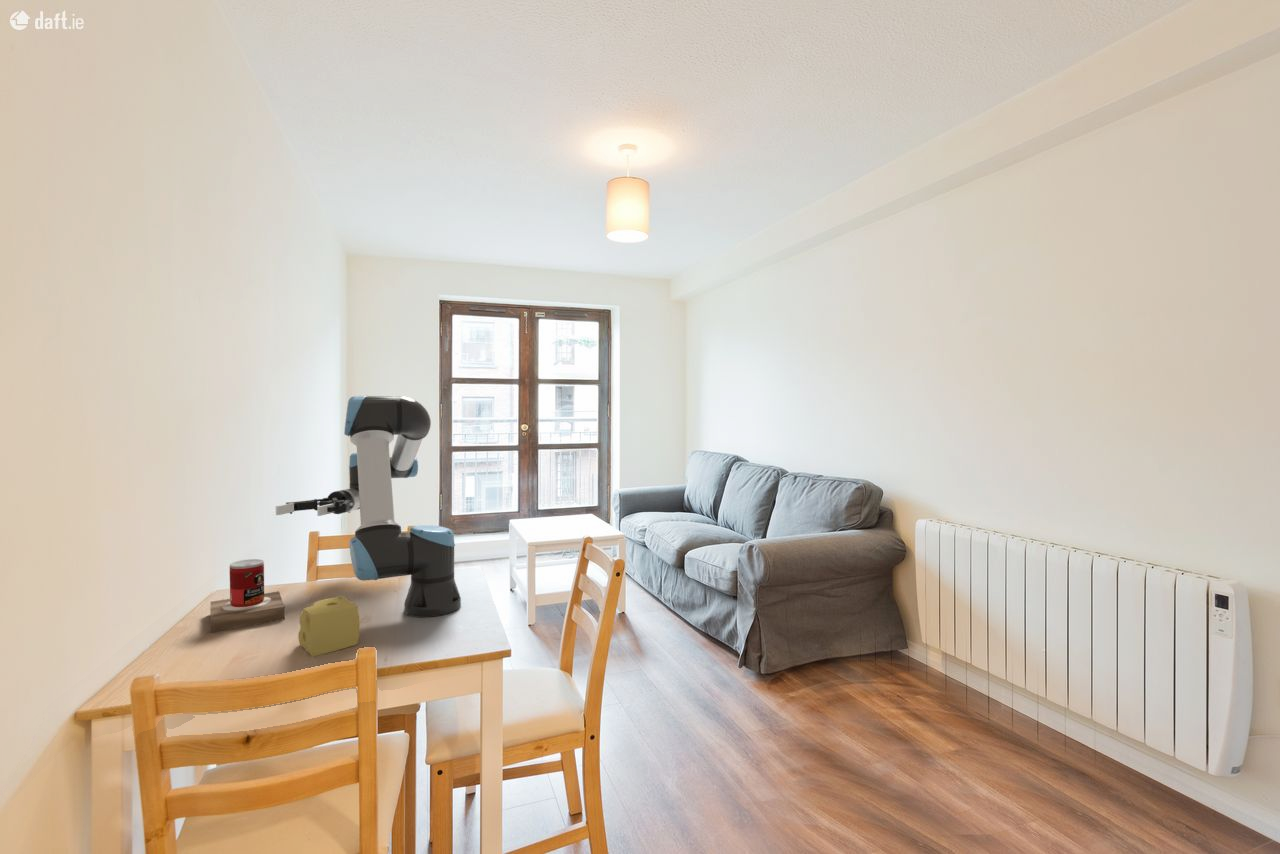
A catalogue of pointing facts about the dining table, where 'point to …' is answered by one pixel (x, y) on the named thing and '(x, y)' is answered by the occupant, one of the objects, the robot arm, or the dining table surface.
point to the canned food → (246, 582)
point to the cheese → (329, 626)
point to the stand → (245, 613)
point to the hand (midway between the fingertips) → (297, 511)
